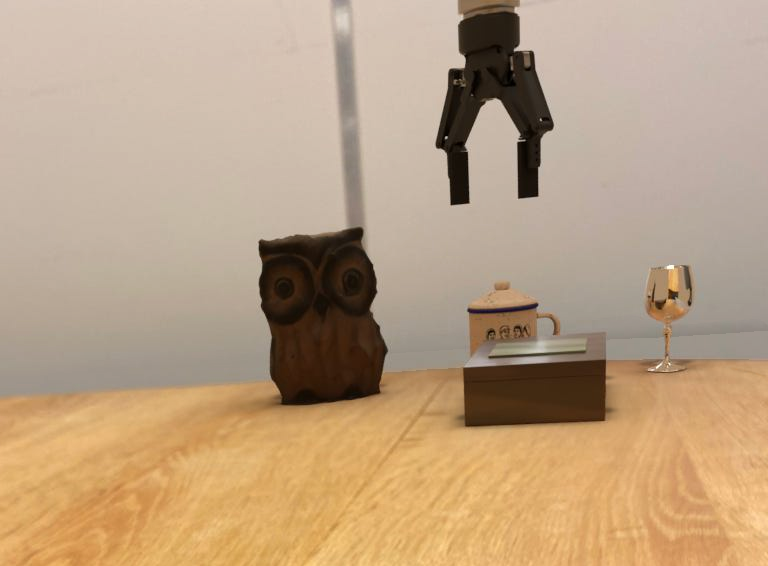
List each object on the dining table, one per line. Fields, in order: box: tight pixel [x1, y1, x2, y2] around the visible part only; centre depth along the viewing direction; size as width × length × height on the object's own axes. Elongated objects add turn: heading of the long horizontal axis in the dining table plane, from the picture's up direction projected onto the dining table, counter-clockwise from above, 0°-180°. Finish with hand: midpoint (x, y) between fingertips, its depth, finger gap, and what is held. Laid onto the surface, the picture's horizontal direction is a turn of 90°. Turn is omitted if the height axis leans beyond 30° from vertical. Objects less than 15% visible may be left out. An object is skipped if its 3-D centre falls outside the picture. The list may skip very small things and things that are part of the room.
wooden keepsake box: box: [462, 331, 607, 427], centre depth 117 cm, size 22×14×6 cm, turn 165°
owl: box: [257, 226, 389, 406], centre depth 132 cm, size 13×13×20 cm
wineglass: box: [643, 264, 696, 373], centre depth 129 cm, size 6×6×12 cm
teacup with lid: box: [466, 280, 561, 359], centre depth 139 cm, size 12×9×12 cm
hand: (492, 201), depth 139 cm, fingers open, 13 cm apart
